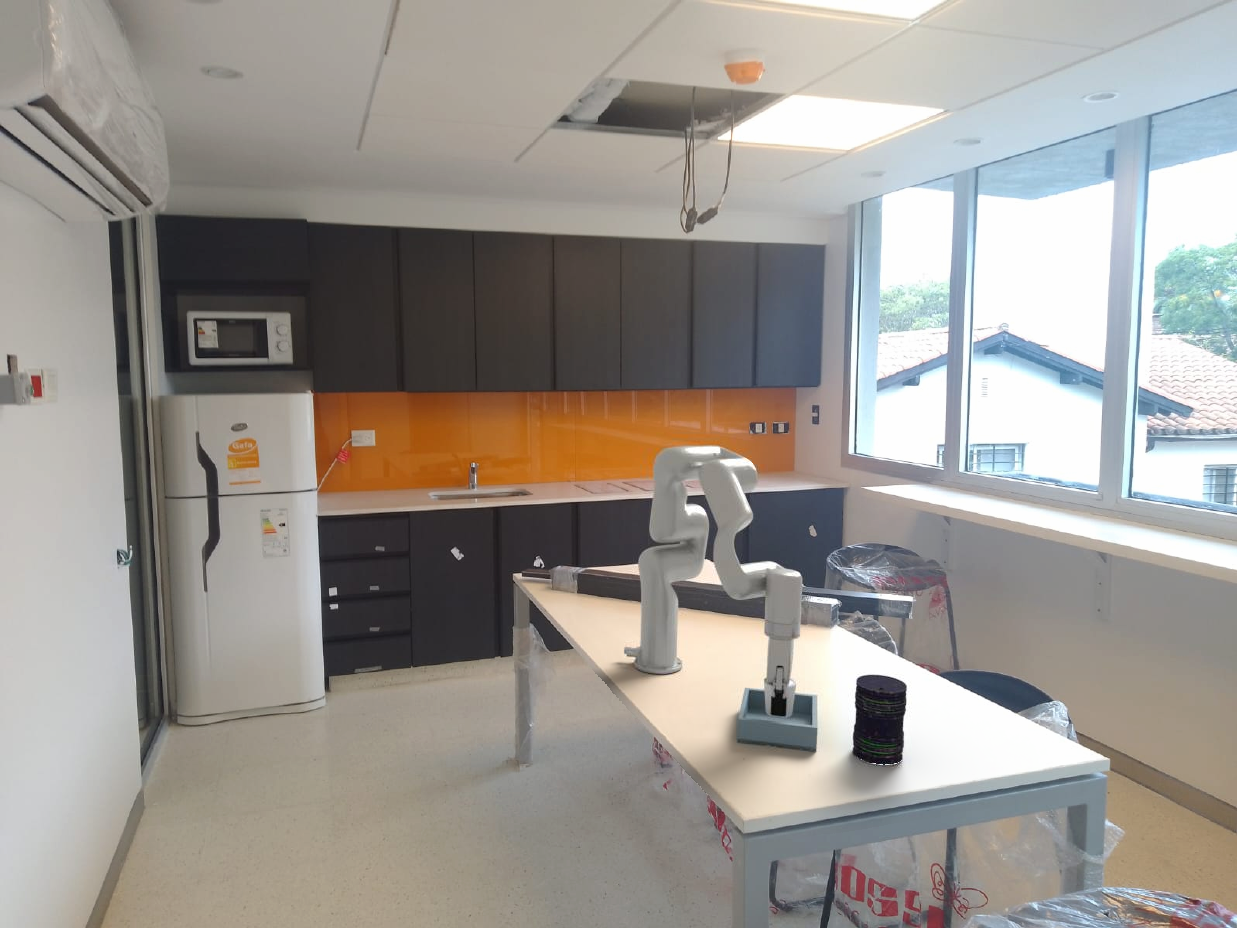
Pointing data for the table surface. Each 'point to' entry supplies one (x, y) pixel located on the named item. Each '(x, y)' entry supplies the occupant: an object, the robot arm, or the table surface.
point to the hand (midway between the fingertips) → (778, 708)
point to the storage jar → (879, 719)
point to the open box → (778, 722)
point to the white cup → (789, 695)
